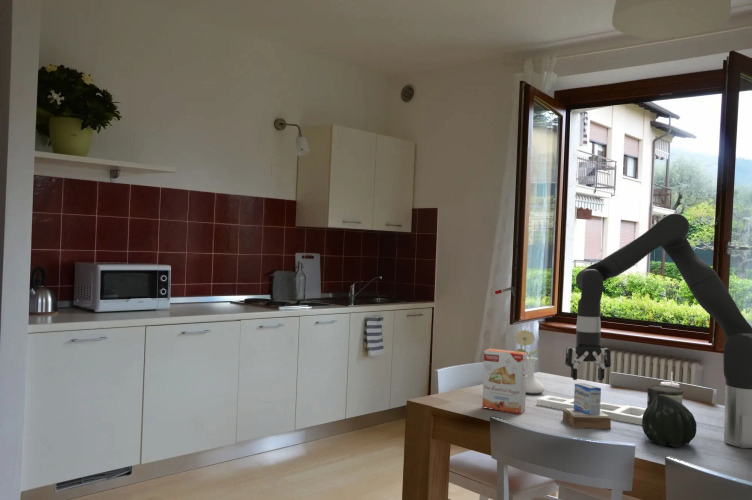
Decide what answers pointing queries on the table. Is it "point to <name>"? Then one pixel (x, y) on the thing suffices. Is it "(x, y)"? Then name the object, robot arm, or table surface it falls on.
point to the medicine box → (587, 399)
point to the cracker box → (504, 380)
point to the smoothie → (670, 382)
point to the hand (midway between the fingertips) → (587, 379)
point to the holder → (609, 409)
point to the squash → (668, 422)
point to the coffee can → (664, 393)
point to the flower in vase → (529, 361)
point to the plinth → (586, 419)
